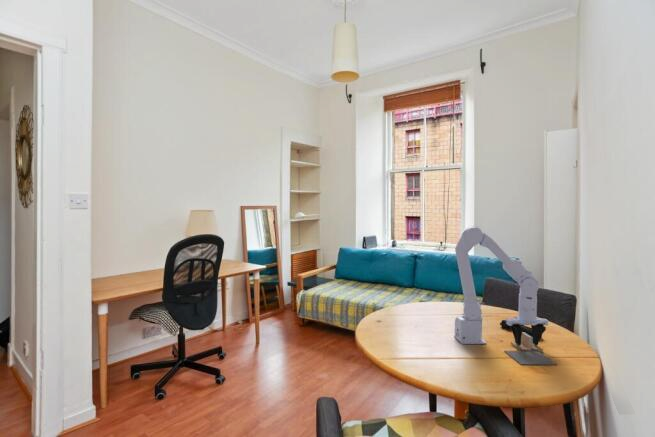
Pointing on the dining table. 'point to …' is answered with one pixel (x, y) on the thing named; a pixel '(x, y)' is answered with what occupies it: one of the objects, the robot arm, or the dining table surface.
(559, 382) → the dining table surface
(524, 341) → the tile
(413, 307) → the dining table surface
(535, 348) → the tile rack
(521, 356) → the mat
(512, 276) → the robot arm
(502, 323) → the handgun
